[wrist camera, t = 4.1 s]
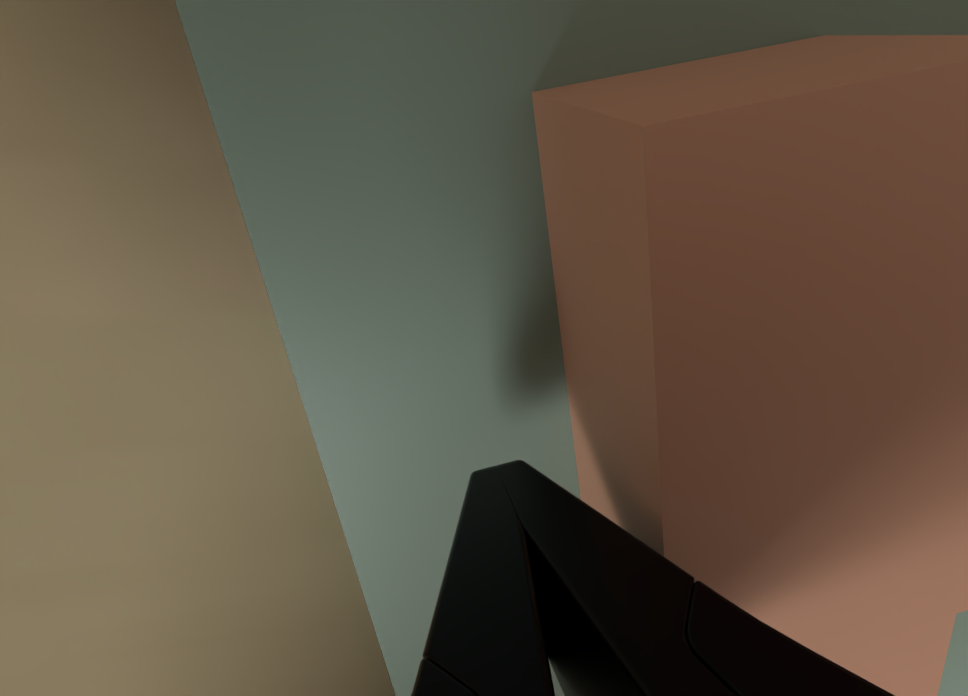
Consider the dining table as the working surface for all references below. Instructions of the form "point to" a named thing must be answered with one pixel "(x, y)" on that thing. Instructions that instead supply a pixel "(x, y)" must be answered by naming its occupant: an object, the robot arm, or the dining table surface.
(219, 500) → the dining table surface
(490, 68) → the board
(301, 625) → the dining table surface
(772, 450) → the salmon notched block
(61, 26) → the dining table surface
